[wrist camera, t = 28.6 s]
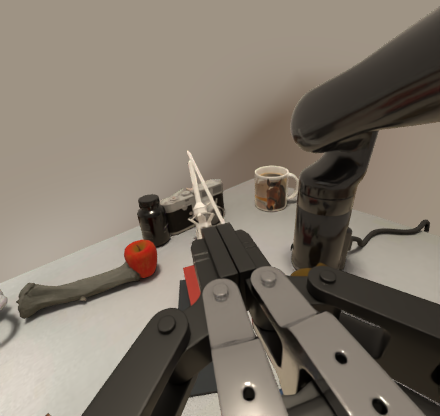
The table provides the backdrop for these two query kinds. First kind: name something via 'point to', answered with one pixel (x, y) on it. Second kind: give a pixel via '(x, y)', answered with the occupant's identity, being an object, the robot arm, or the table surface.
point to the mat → (207, 375)
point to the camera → (192, 206)
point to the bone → (72, 290)
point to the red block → (192, 284)
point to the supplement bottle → (153, 220)
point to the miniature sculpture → (199, 206)
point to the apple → (141, 257)
